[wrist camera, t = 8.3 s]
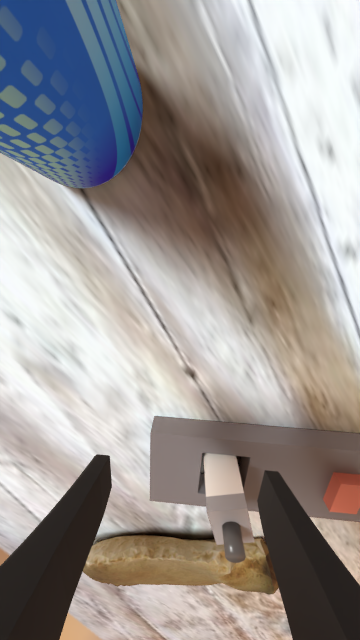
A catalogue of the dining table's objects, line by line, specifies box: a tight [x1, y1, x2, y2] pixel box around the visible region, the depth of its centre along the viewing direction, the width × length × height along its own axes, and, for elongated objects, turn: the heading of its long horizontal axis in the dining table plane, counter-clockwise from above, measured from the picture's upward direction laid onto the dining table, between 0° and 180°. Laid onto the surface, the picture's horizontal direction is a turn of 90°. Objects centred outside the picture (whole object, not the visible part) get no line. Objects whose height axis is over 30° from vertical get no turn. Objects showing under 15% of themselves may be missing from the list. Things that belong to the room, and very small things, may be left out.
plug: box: [203, 453, 254, 563], centre depth 18 cm, size 3×4×8 cm
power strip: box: [150, 416, 360, 522], centre depth 20 cm, size 22×9×3 cm, turn 87°
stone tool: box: [83, 535, 279, 594], centre depth 25 cm, size 12×4×25 cm
